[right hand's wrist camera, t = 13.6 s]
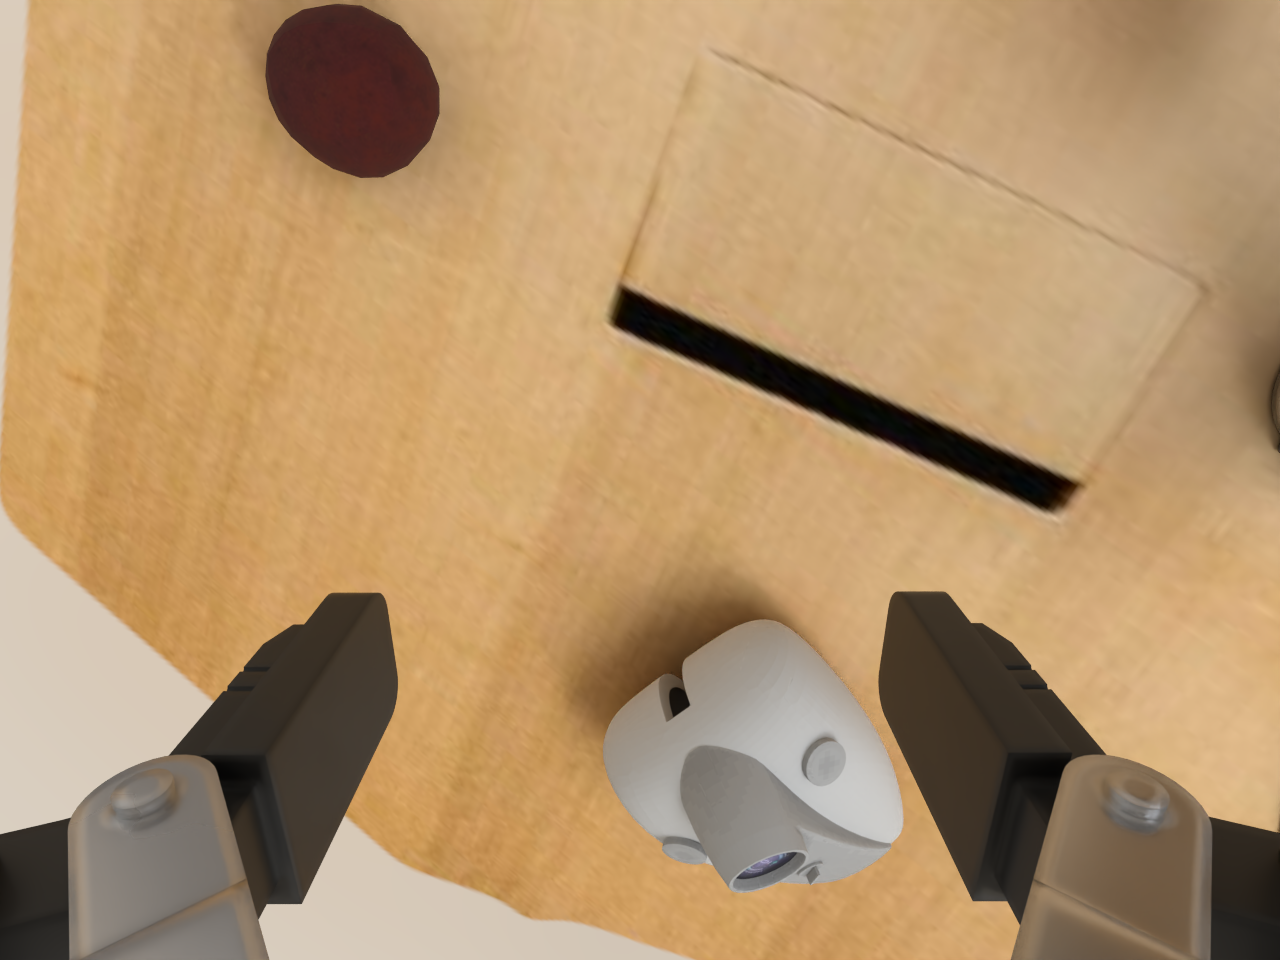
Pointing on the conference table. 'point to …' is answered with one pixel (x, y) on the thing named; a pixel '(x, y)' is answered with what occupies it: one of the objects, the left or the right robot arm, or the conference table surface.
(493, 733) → the conference table surface
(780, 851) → the projector
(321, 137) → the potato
